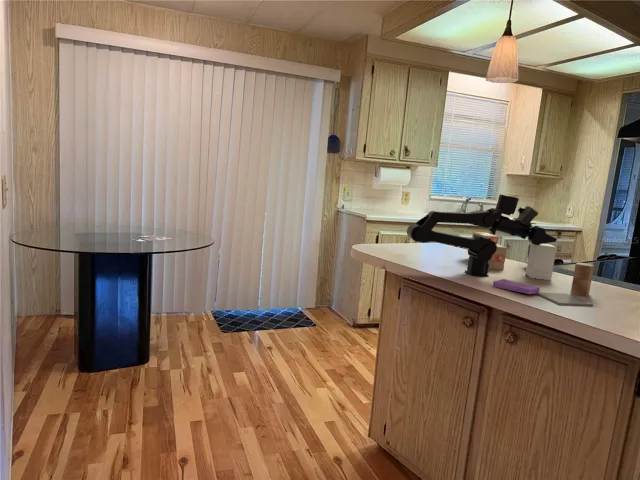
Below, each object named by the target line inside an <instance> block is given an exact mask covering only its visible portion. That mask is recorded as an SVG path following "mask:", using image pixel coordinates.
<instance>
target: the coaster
mask: <svg viewBox="0 0 640 480" xmlns="http://www.w3.org/2000/svg"><path fill="white" fill-rule="evenodd" d="M535 295H537V296H540V297H541V298H543V299H545V300H548V301H550V302H552V303H554V304H557V305H558V306H576V307H577V306H579V307H585V306H586V307H593V306H594V305H593V303H592V302H589V301H586V300H584V299H581V298H579V297H577V296H574V295H572V294H571V293H564V292H559V293H558V292H541V291H540V292H538V293H535Z"/></svg>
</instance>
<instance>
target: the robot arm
mask: <svg viewBox="0 0 640 480" xmlns="http://www.w3.org/2000/svg"><path fill="white" fill-rule="evenodd" d="M497 198H498V199H497V203H496V205H495V208H493V207H492V208H489V209H486V210H483V209H482V210H480V209H479V210H473V211H469V212H458V211H457V212H453V211H451V212H450V211H449V212H448V211H436V210H431V211H429V212H428V213H427V214H426V215H425V216H423V217H422V218H420V219H419V220H418V221H416V222H415V223H412V224H410V225H408V227H407V229H406V235H407V236H408V238H409V239H411V240H413V241H414V242H417V243H433V242H434V243H439V244H444V245H450V246H454V247H459V248H464V249H467V254H468V260H467V261H468V263H467V267H466V270H464V273H467V274H469V275H471V276H476V277H489V270H490V269H489V263H488V261H490V259H491V257H492V255H493V254H494V253H495V252H496V250H497V245H496V243H495V242H494V241H491V238H488V237H486V236H478V235H476V234H474V238H472V237H466V236H462V235H456V234H452V233H447V232H441V231H435V230H433V229H434V228H435V227H436V225H437V224H438V223H443V224H445V223H446V224H467V225H468V224H469V225H473V226H476V227H482V228H487V230H488V232H489V234H492V235H495V236H496V233H497V232H501V233H504V234H508V235H510V236H513V237H518V238H521V239H523V240H526V239H527V240H528V242H529V244H531V243H532V244H534V245H540V244H551V243H556V242H557V240H558V239H557V238H556V237H554V236H553V235H550V234H548V233H547V232H546V228H544V227H543V226H542V227H541V226H538V225H534V226H533V223H532V221H533V220H534V219H535V218H536V217H537V216H538V215H539V212H538V211H537V210H536V209H535V208H533V207H532V206H530V205H529V206H525V207H519V208H518V209H517V206H518V203H519V201H520V199H519V198H518V197H516V196H512V195H511V196H509V195H505V194H499V195H498V197H497ZM516 209H517V210H516ZM516 211H517V212H518V216H517V217H508V216H511V215H514V214H515V212H516ZM505 215H506V216H505ZM470 256H471V257H470Z"/></svg>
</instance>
